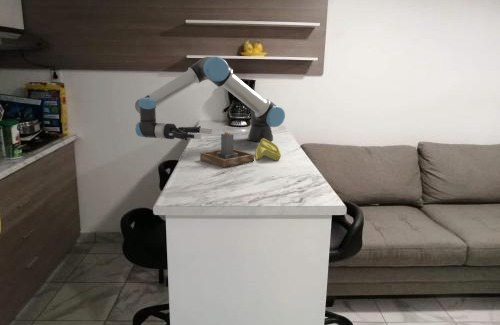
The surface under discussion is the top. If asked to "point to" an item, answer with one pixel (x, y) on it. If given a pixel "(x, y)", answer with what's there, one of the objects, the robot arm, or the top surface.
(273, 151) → the plastic component
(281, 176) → the top surface
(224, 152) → the grey tall block
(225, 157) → the box
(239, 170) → the top surface
